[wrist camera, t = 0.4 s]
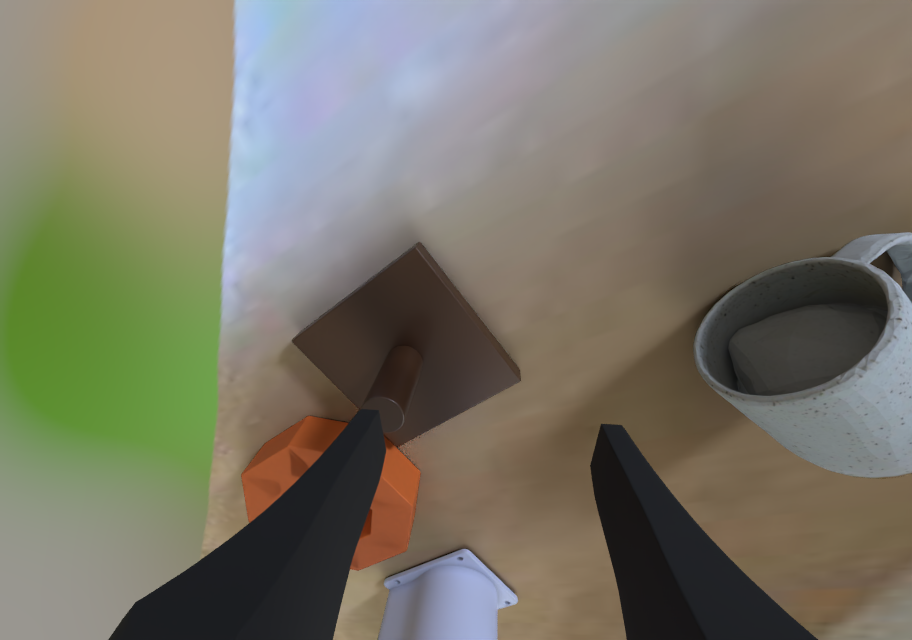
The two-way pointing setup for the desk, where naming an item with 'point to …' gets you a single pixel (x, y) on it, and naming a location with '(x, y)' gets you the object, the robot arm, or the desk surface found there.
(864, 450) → the ceramic mug
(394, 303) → the stand
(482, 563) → the robot arm
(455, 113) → the desk surface
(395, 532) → the ring
